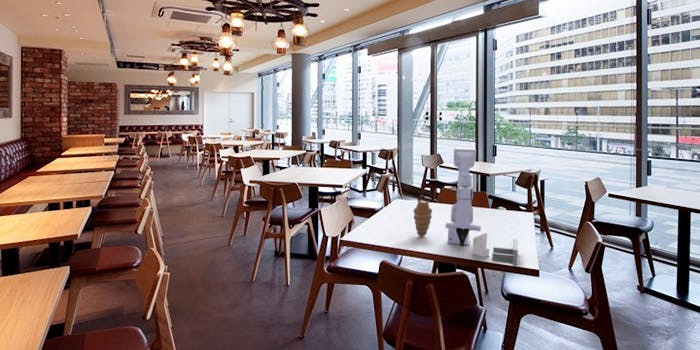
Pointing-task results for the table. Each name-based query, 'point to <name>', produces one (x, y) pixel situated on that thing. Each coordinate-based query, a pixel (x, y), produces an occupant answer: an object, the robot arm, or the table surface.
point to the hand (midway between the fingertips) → (462, 245)
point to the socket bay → (506, 253)
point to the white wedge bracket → (480, 245)
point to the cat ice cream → (422, 217)
